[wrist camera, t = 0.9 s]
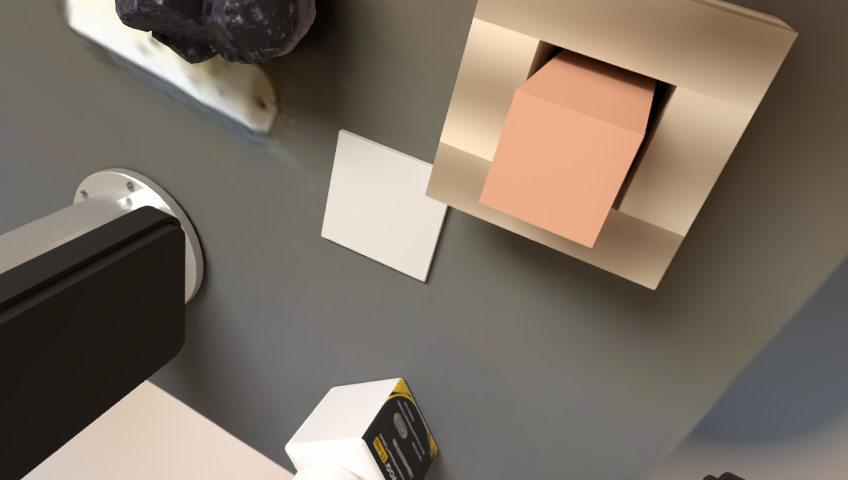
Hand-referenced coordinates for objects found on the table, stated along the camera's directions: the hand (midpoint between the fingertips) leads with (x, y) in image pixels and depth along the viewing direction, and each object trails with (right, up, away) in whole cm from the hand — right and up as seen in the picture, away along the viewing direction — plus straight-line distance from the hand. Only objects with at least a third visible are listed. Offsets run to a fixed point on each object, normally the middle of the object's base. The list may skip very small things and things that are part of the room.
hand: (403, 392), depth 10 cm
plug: (+9, +10, +21) cm, 25 cm away
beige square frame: (+9, +10, +21) cm, 25 cm away
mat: (-2, +5, +29) cm, 29 cm away
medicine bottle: (-3, -12, +37) cm, 39 cm away
